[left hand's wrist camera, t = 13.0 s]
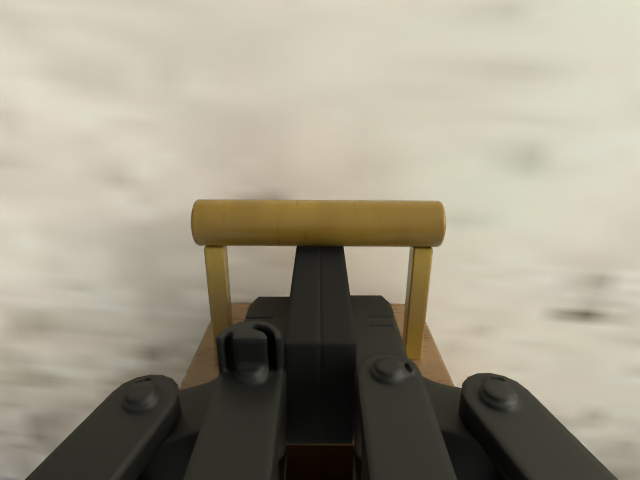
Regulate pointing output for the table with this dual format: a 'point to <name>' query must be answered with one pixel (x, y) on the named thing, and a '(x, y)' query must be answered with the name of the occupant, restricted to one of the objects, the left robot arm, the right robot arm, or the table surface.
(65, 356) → the table surface
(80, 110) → the table surface
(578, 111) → the table surface
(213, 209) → the drawer
